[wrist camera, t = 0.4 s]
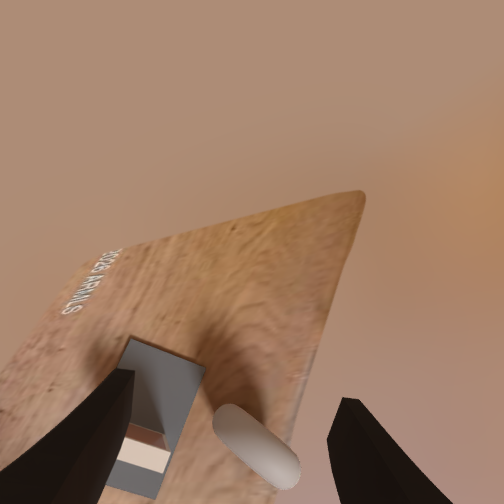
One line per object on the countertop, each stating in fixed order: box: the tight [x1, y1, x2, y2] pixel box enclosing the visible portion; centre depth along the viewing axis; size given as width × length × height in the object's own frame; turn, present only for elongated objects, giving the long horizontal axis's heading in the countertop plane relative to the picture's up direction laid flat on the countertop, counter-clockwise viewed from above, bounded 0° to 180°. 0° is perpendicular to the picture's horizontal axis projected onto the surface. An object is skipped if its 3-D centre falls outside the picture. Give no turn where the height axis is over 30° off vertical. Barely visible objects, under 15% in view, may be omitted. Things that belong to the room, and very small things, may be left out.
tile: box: [117, 423, 171, 473], centre depth 30 cm, size 2×6×6 cm, turn 69°
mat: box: [106, 339, 206, 500], centre depth 33 cm, size 13×9×1 cm
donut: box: [212, 403, 301, 490], centre depth 32 cm, size 10×4×10 cm, turn 51°
